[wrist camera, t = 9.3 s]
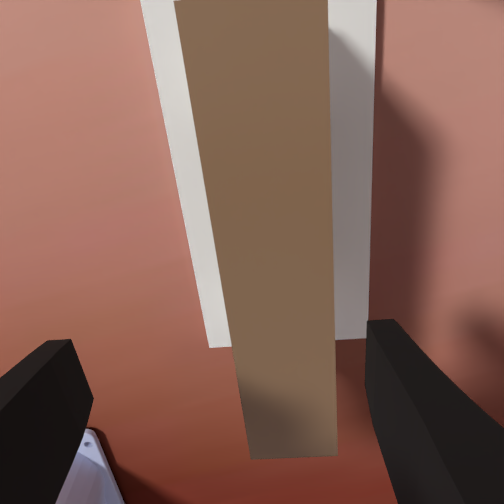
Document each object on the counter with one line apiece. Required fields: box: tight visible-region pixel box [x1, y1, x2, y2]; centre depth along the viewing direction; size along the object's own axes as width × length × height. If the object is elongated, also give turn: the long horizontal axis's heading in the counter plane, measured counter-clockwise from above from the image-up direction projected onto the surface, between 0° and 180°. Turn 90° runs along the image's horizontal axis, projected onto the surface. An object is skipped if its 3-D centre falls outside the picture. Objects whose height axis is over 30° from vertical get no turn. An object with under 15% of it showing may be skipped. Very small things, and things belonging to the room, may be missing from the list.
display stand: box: [140, 0, 377, 348], centre depth 18 cm, size 16×8×2 cm, turn 6°
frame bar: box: [173, 0, 338, 459], centre depth 14 cm, size 14×3×6 cm, turn 6°
